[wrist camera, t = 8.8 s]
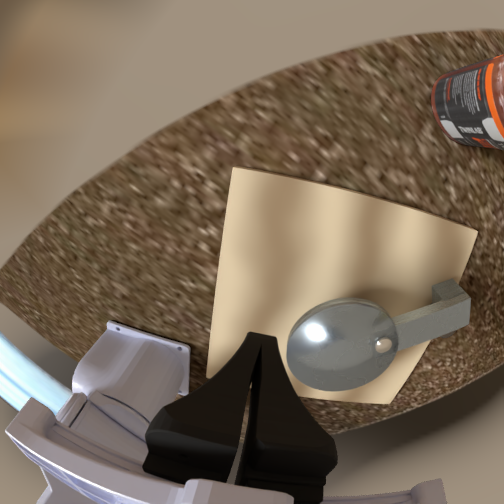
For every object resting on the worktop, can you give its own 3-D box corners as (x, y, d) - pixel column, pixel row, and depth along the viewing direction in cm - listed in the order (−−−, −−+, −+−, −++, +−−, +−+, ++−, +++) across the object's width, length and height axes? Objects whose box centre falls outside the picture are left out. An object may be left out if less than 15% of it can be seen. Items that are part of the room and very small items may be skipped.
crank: (301, 372, 23) (301, 402, 20) (274, 298, 21) (270, 326, 17) (450, 328, 20) (466, 352, 16) (450, 245, 17) (474, 264, 14)
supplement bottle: (442, 152, 17) (546, 174, 7) (416, 79, 15) (509, 42, 5) (491, 138, 16) (589, 153, 5) (469, 70, 14) (562, 48, 3)
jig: (208, 369, 27) (198, 399, 24) (236, 165, 20) (222, 171, 16) (387, 396, 26) (394, 424, 22) (470, 227, 19) (497, 244, 15)
